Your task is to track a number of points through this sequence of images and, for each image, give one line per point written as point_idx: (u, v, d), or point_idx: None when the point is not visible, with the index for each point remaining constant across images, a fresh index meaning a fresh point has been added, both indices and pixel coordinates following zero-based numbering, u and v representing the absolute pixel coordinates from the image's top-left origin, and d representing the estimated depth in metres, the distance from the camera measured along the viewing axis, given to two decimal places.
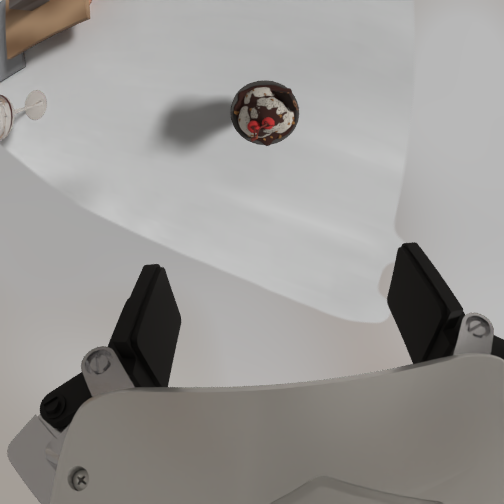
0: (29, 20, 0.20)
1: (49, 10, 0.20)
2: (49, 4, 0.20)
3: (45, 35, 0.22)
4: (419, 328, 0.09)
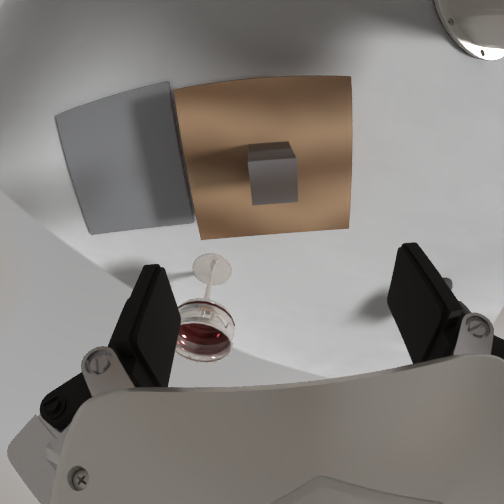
0: (248, 195, 0.26)
1: None
2: None
3: (281, 230, 0.28)
4: (419, 329, 0.09)
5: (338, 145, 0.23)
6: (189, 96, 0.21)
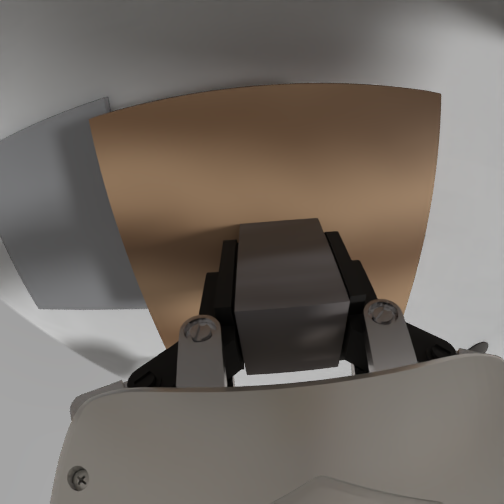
0: None
1: None
2: None
3: None
4: None
5: (405, 222, 0.12)
6: (118, 130, 0.10)
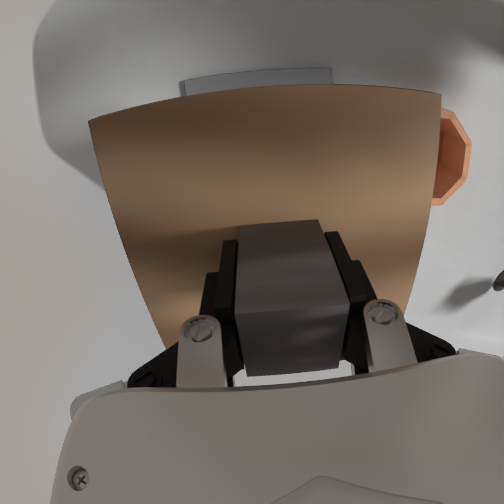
0: None
1: None
2: None
3: None
4: None
5: (405, 223, 0.12)
6: (117, 132, 0.10)
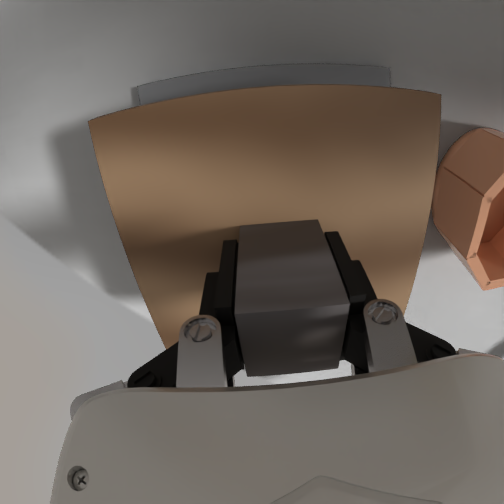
0: None
1: None
2: None
3: None
4: None
5: (405, 223, 0.12)
6: (117, 132, 0.10)
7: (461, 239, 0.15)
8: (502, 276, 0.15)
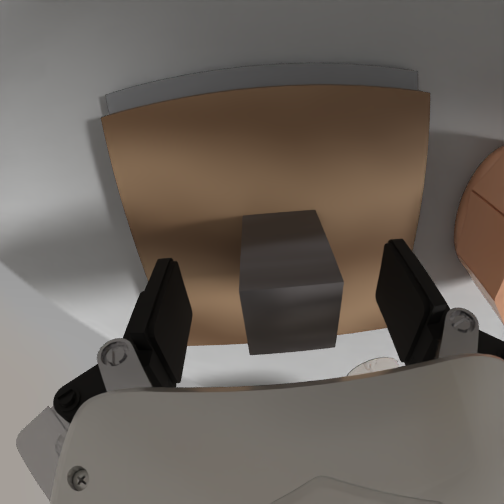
0: None
1: None
2: None
3: None
4: (404, 323, 0.09)
5: (398, 214, 0.13)
6: (129, 128, 0.11)
7: (490, 277, 0.12)
8: None
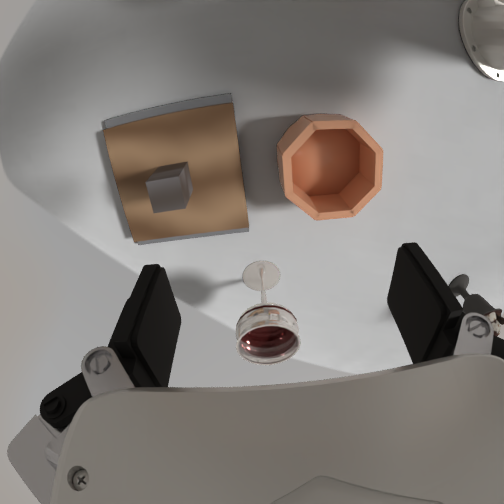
0: None
1: (194, 203, 0.32)
2: (192, 194, 0.32)
3: (193, 232, 0.34)
4: (419, 329, 0.09)
5: (227, 160, 0.30)
6: (114, 134, 0.28)
7: (283, 185, 0.29)
8: (333, 210, 0.30)
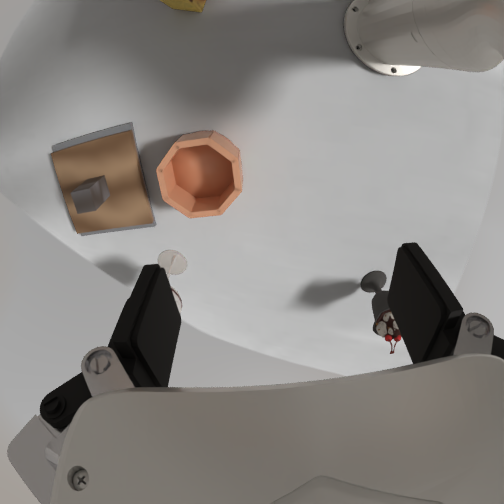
0: None
1: (112, 205, 0.41)
2: (110, 199, 0.40)
3: (114, 226, 0.43)
4: (419, 328, 0.09)
5: (130, 173, 0.38)
6: (57, 156, 0.36)
7: None
8: (203, 210, 0.38)
